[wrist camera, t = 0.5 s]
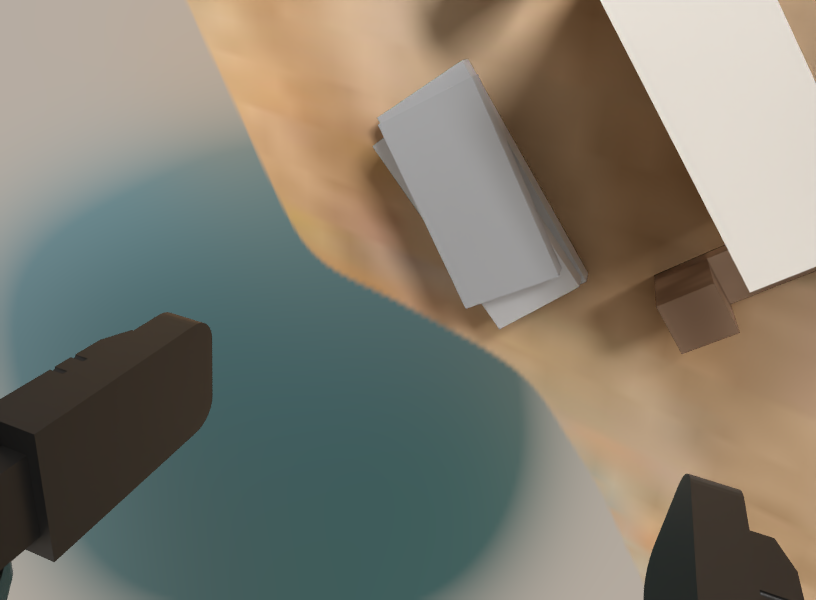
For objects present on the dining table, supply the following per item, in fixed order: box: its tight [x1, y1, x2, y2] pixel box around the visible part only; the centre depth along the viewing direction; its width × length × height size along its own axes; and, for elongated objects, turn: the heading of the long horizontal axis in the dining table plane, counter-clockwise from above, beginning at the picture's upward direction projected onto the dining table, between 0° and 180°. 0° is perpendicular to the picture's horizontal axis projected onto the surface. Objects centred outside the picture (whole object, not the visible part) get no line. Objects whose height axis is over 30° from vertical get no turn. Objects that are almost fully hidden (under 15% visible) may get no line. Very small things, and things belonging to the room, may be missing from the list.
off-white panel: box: [600, 0, 816, 292], centre depth 24 cm, size 4×12×10 cm, turn 33°
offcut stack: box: [373, 59, 588, 329], centre depth 32 cm, size 6×12×4 cm, turn 33°
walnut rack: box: [654, 245, 816, 354], centre depth 27 cm, size 12×20×4 cm, turn 33°
